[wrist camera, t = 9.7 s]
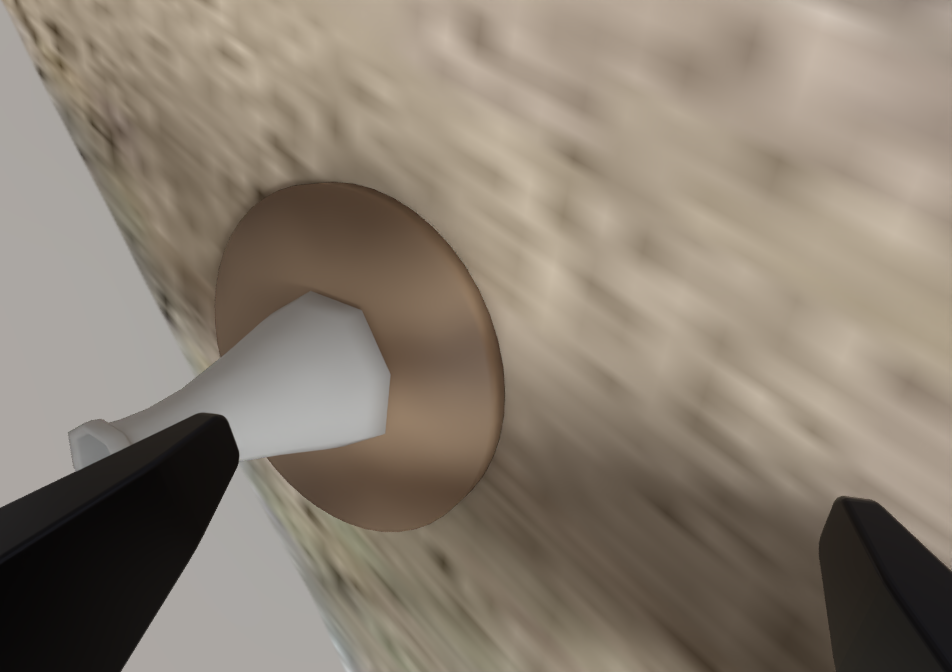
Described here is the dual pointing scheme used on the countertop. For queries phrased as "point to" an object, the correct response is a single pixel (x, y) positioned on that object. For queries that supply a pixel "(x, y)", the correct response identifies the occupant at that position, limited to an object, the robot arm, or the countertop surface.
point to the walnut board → (398, 338)
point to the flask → (273, 388)
